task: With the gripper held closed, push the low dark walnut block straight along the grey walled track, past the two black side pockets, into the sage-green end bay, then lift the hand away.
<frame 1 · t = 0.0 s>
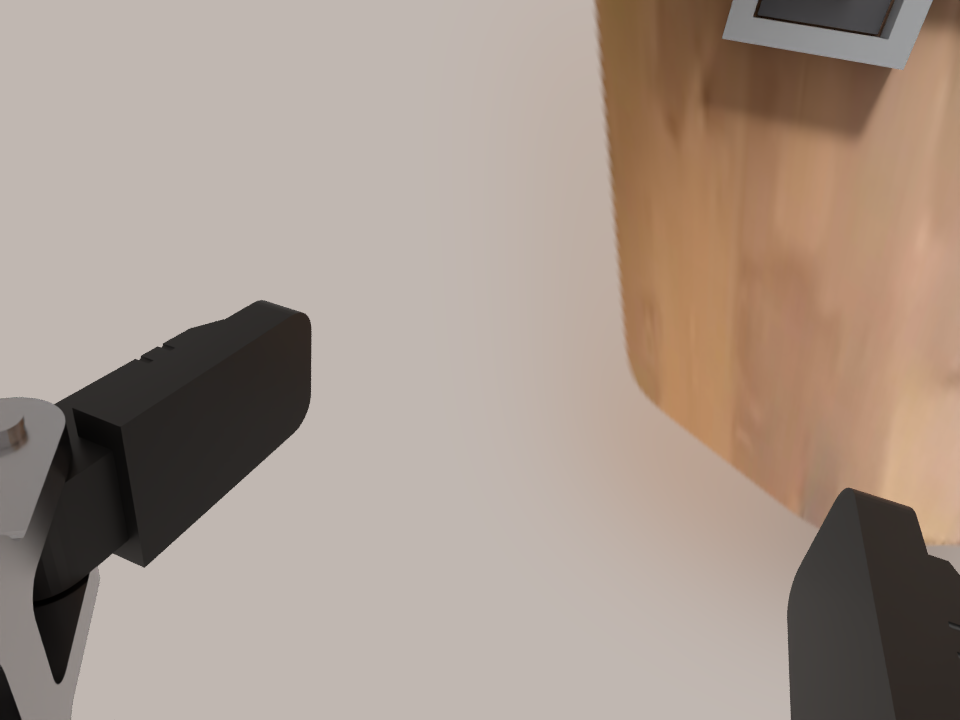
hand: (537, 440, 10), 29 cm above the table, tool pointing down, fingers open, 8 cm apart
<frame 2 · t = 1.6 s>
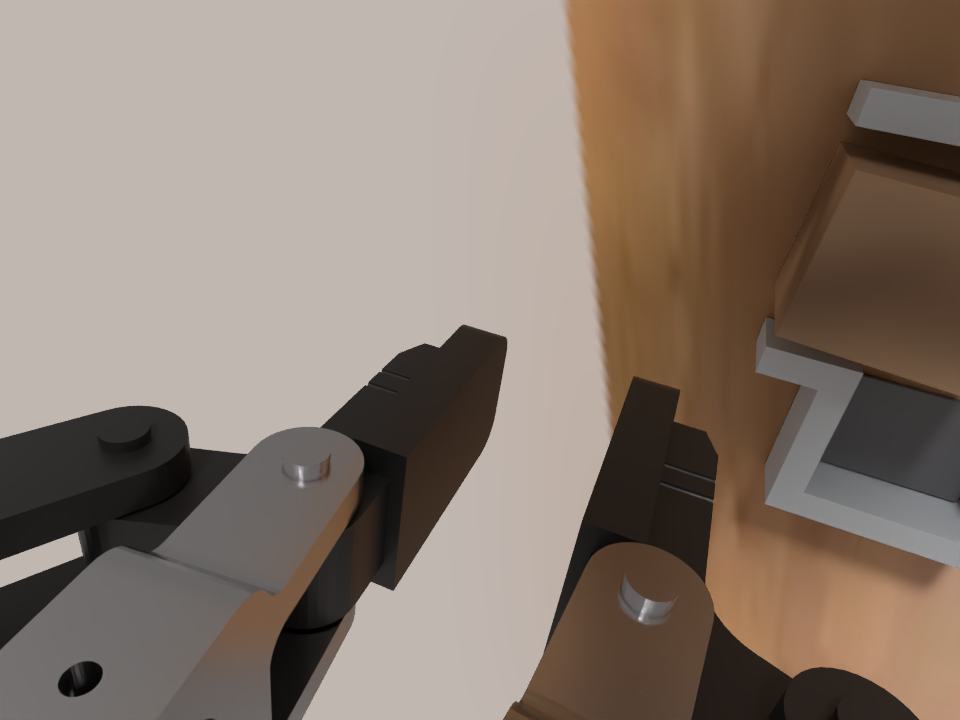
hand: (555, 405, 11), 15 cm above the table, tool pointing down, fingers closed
block: (916, 248, 22), on the table
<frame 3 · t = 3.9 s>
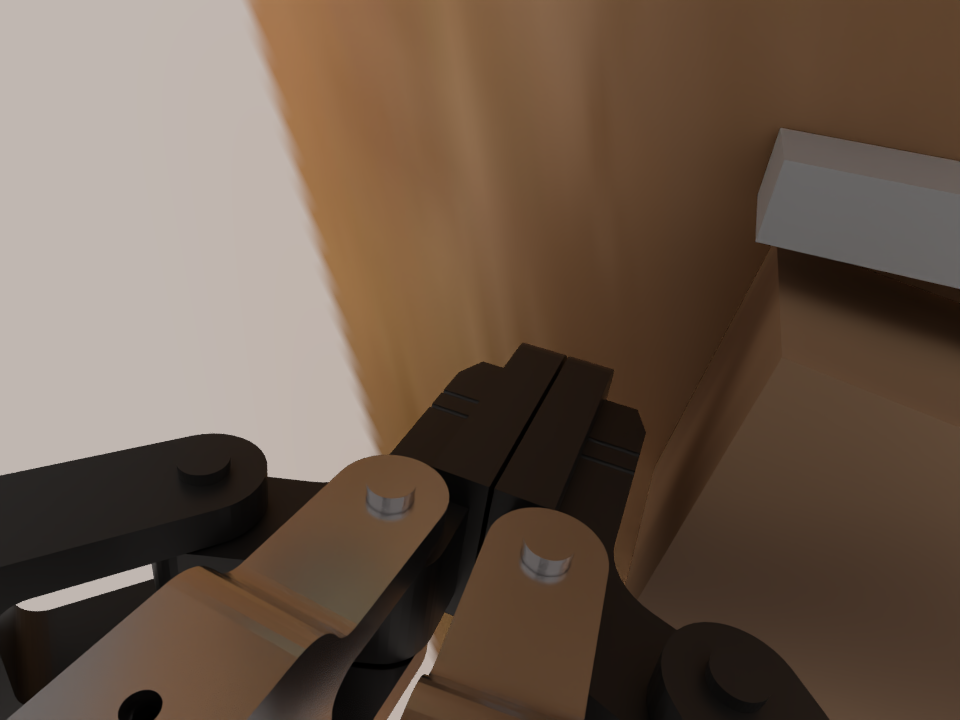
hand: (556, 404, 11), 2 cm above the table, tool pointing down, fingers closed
block: (908, 443, 11), on the table, touching gripper
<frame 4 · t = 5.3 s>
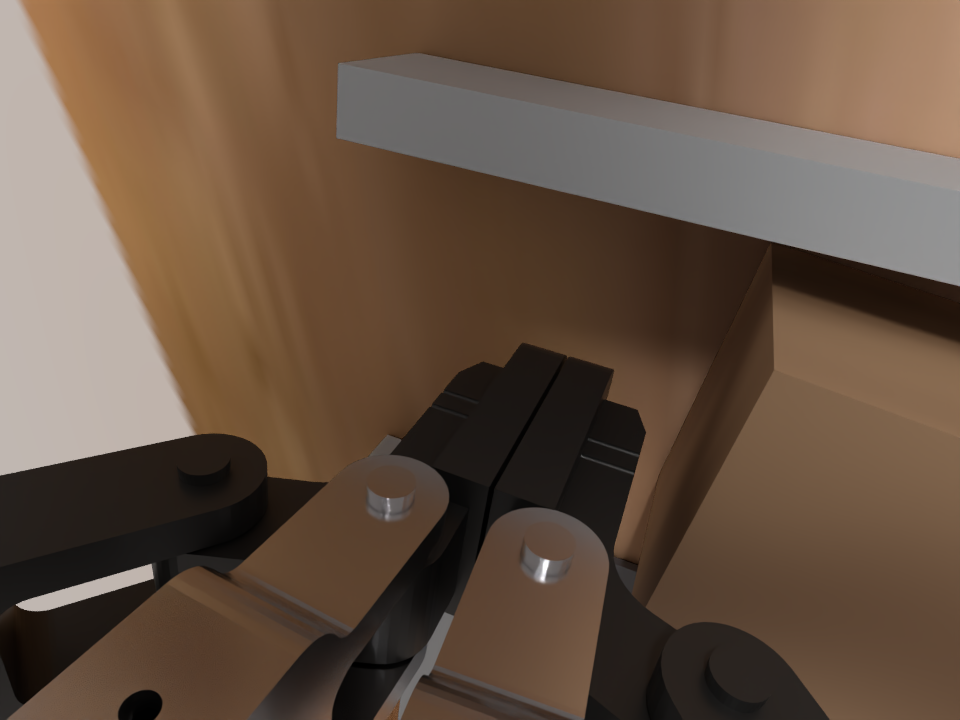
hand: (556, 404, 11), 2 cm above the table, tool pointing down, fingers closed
block: (915, 448, 11), on the table, touching gripper
track: (943, 457, 11), on the table
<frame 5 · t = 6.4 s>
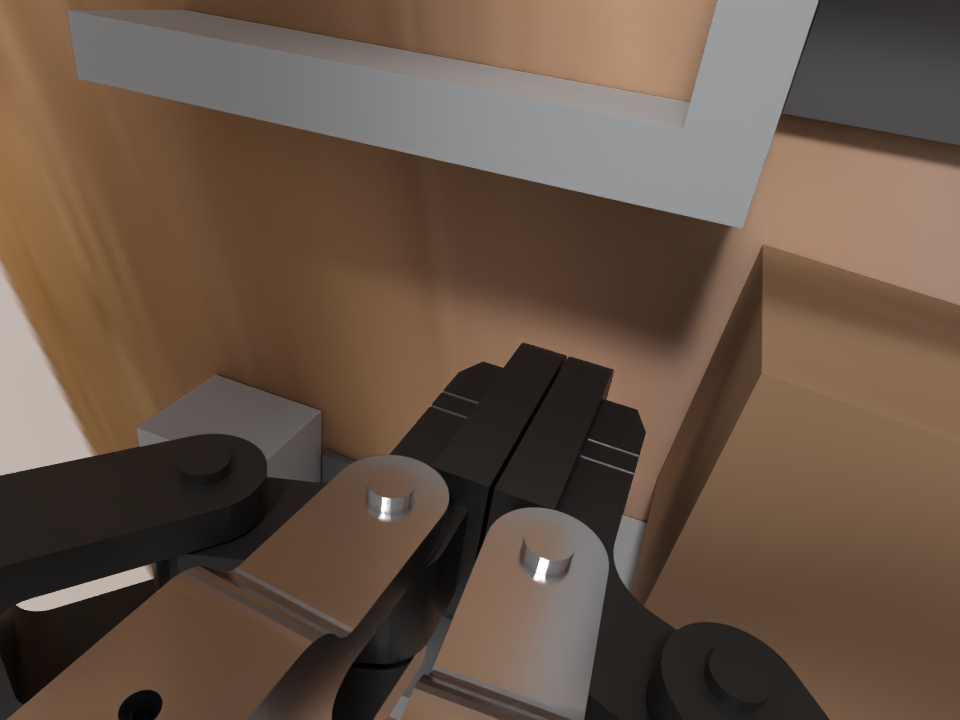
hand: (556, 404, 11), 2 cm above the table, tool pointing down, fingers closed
block: (910, 448, 11), on the table, touching gripper
track: (656, 368, 12), on the table
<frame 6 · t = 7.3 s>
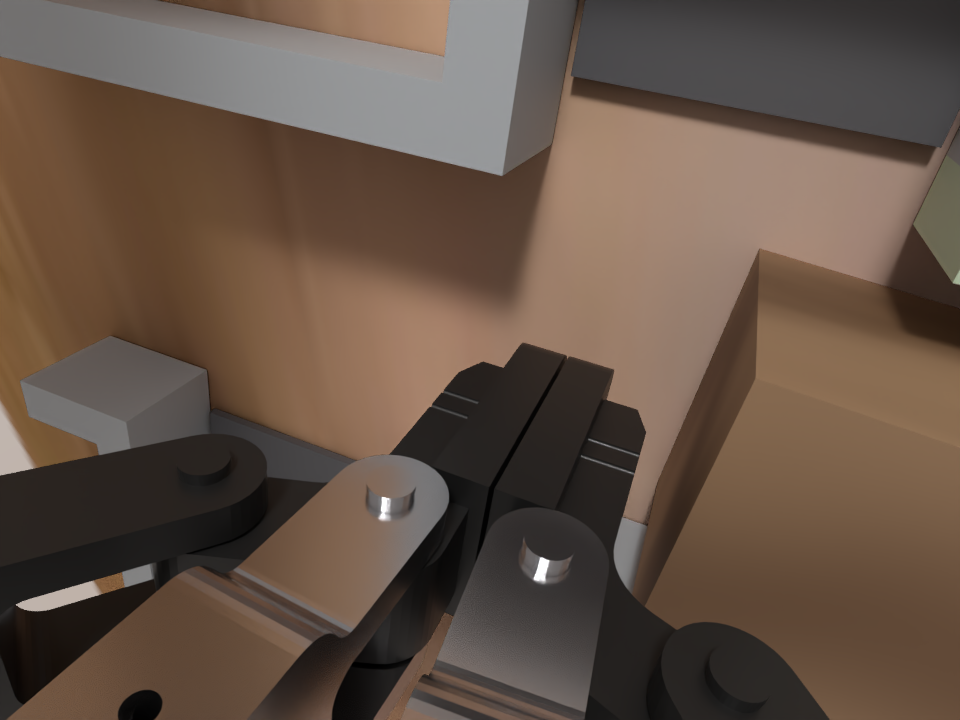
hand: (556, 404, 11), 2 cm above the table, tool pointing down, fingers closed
block: (909, 449, 11), on the table
track: (493, 322, 13), on the table
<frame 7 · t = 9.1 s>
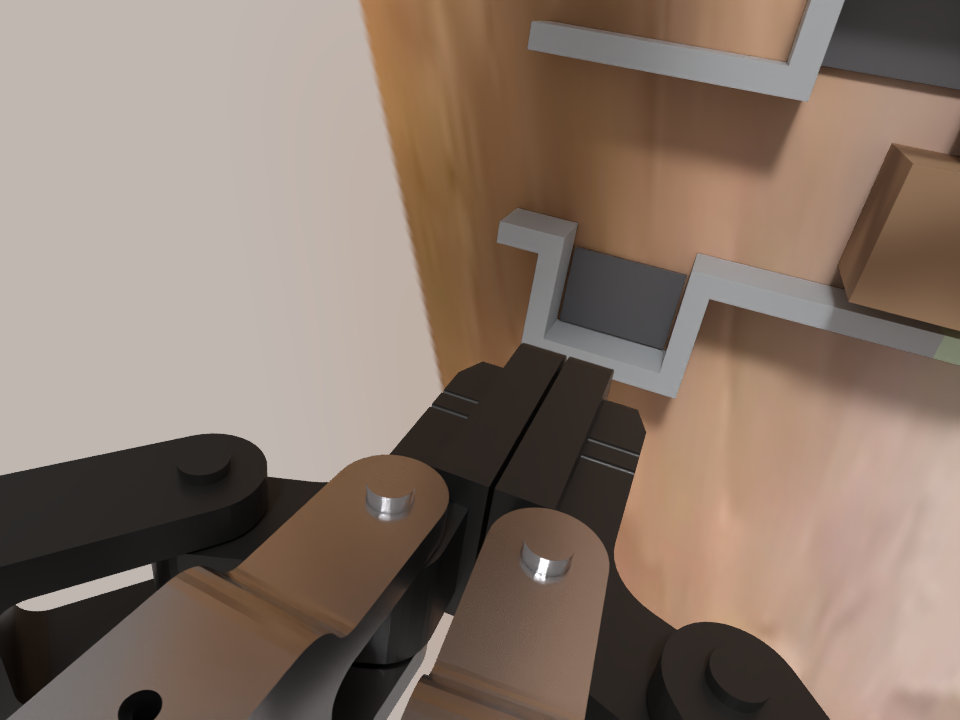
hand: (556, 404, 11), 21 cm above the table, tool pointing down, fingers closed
block: (959, 227, 26), on the table
track: (759, 182, 28), on the table
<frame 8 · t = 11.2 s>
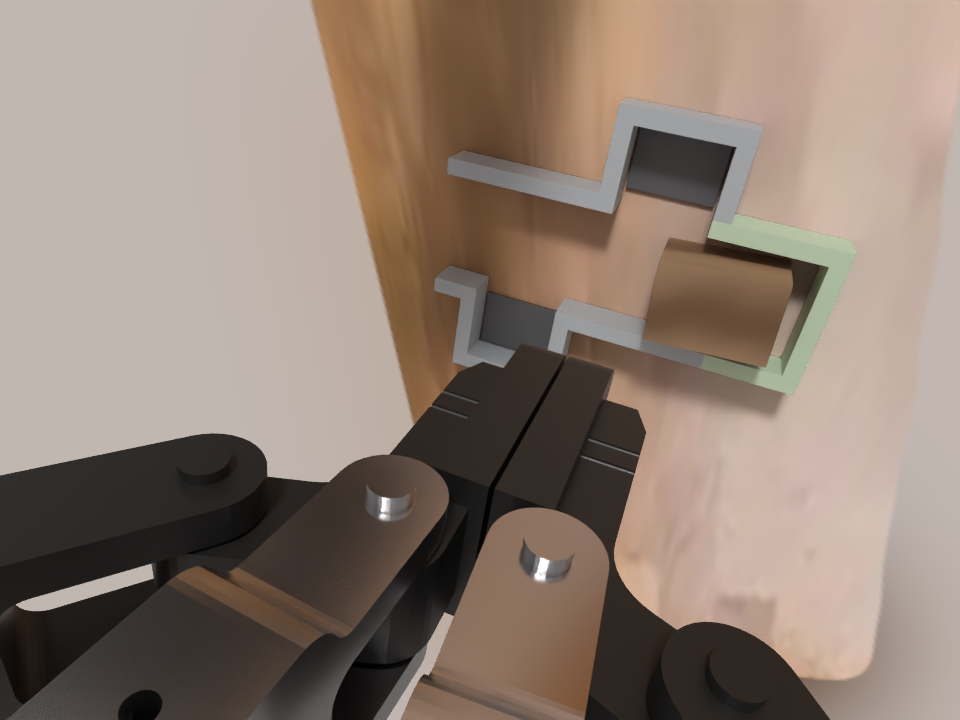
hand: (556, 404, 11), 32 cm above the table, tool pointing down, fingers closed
block: (718, 286, 41), on the table
track: (598, 254, 43), on the table
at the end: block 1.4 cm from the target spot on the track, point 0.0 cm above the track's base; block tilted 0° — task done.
